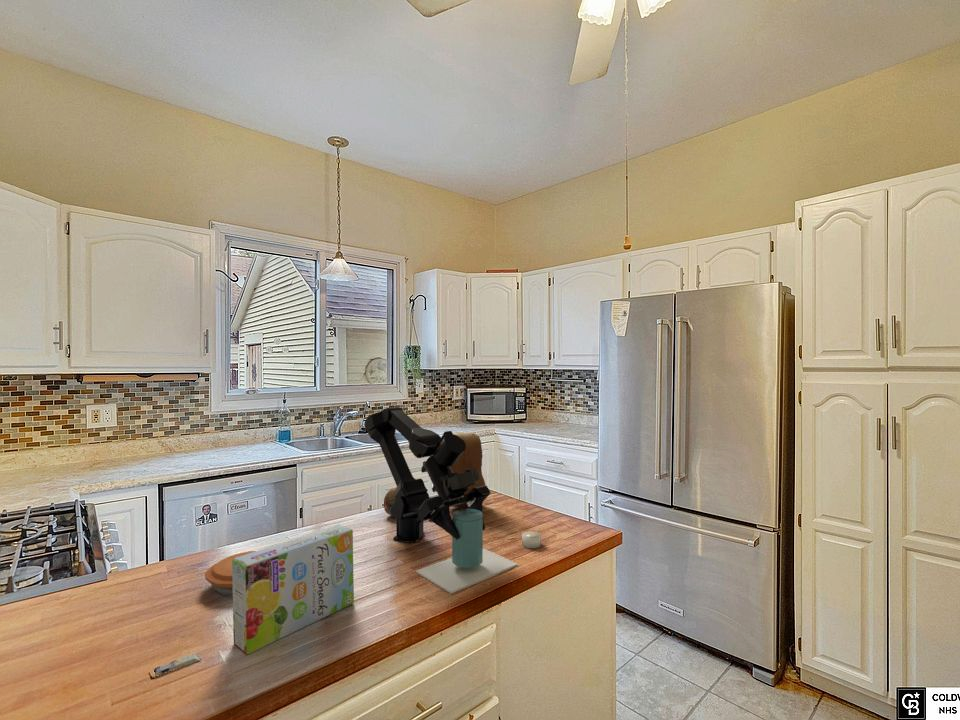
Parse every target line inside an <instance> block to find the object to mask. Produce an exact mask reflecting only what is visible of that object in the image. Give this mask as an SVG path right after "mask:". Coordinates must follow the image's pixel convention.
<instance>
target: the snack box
mask: <svg viewBox="0 0 960 720" xmlns="http://www.w3.org/2000/svg"><path fill="white" fill-rule="evenodd" d="M353 532H354V530H353V529H351V528H348V527H346V526H343V525H340V524H336V525H333V526H329V527H327V528H324V529H321V530H317V531H314V532H311V533H309V534H305V535H302V536H298V537H296V538H293V539H290V540H287V541H283V542H279V543H278V544H277V543H276V544H274V545H270V546H268V547H264V548H261V549H259V550H254V551H255V552H252V553H249V554H246V555H243V556H240V557H237V558H234V559H232V578H233V596H232V618H233V619H232V621H233V622H232V627H233V631H232V632H233V633H232V634H233V644H234V645H235V646H236V647H238V649H240V650H241V651H242V652H243V653H244V654H246V655H249V654H252V653H253V652H256V651H258V650H260V649H263V648H264V647H266V646H268V645H270V644H272V643H274V642H276V641H279V640H280V639H282V638H284V637H286V636H288V635H291V634H293V633H295V632H297V631H299V630H301V629H303V628H305V627H307V626H309V625H311V624H313V623H316V622H319V620H322V619H324V618H326V617H328V616H330V615H331V614H332V615H333V614H334V613H336V612H339V611H340V610H343V609H345V608H346V607H349V606H351V605H353V604H354V603H355V593H354V592H355V589H354V588H355V587H354V585H355V584H354V538H353V537H354V534H353Z"/></svg>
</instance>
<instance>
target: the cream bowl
mask: <svg viewBox="0 0 960 720" xmlns="http://www.w3.org/2000/svg"><path fill="white" fill-rule="evenodd" d="M521 545H522V547H523V548H526V549H539V548H540V547H541V546H542V534H541V533H539V532H537V531H524V532H523V533H522V534H521Z"/></svg>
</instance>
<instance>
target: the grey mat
mask: <svg viewBox="0 0 960 720" xmlns="http://www.w3.org/2000/svg"><path fill="white" fill-rule="evenodd" d="M517 566H519V565H518V563H517V562H515V561H512V560H510V559H508V558H506V557H503V556H502V555H500V554H497V553H495V552H493V551H491V550H488V549H486V548H484V547H483V563H481V564H480V565H479V566H475V567H471V568H463V567H459V566H456V565H455V564H454V563H452V557H449V558H447V559H444V560H442V561H440V562H437V563H434V564H431V565H428V566H425V567H422V568H420V569H417V570H415V573H416V574H418V575H419V576H420V577H422V578H424V579H426V580H427V581H428V582H431V583H432V584H434V585H436V586H437V587H439V588H441V589H442V590H444V591H445V592H447V593H449V594H450V595H452V594H454V593H456V592H459V591H461V590H464V589H466V588H469V587H471V586H473V585H475V584H478V583H480V582H482V581H485V580H487V579H490V578H492V577H494V576H497V575H498V574H501V573H504V572H505V571H506V572H507V571H508V570H510V569H513V568H515V567H517Z"/></svg>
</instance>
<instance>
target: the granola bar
mask: <svg viewBox="0 0 960 720" xmlns="http://www.w3.org/2000/svg"><path fill="white" fill-rule="evenodd" d="M197 661H198V662H199V661H201V658H200V656H199V655H198V653H191V654H188V655H186V656H183V657H180V658H178V659H175V660H173V661H170V662H168V663H165V664H162V665H159V666H157V667H154V669H153V670H154V672H155V676H156V675H160V674H163V675H165V674H164V673H165V672H168V673H170V672H169V671H171V670H173V669H176V668H179V667H181V668H183V667H182V666H184V665H186V666H188V664H189V665H190V664H194V663H195V662H196V663H197ZM184 667H185V666H184ZM179 669H180V668H179ZM176 670H177V669H176ZM173 671H174V670H173ZM171 672H172V671H171ZM160 676H161V675H160Z"/></svg>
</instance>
